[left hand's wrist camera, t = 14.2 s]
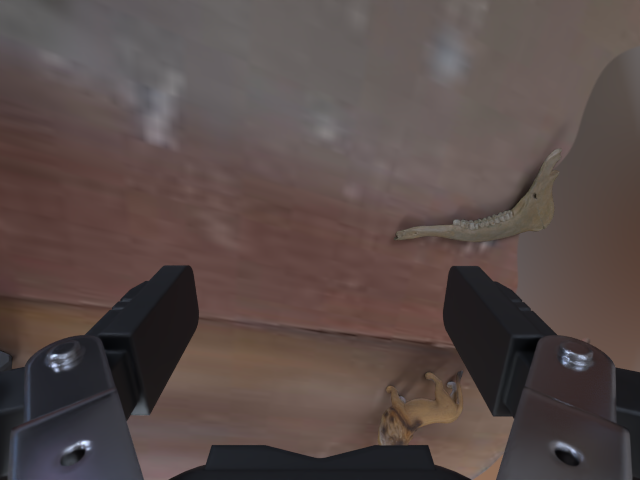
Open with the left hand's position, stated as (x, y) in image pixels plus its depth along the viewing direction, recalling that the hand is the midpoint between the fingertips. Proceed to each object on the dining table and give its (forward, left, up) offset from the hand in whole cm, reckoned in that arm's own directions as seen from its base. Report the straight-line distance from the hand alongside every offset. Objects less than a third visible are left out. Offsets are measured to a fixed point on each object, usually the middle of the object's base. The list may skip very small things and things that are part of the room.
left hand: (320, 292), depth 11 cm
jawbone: (+10, +16, -32) cm, 37 cm away
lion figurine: (+38, +4, -32) cm, 50 cm away
